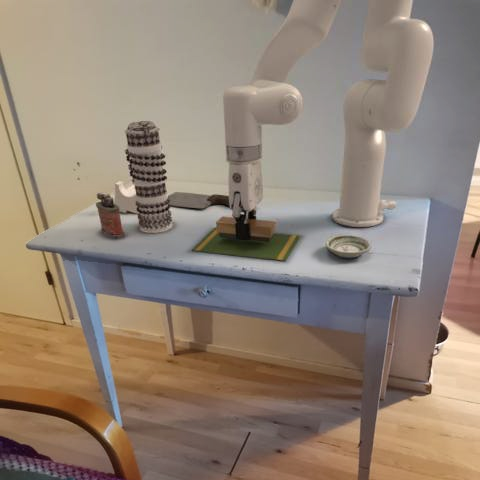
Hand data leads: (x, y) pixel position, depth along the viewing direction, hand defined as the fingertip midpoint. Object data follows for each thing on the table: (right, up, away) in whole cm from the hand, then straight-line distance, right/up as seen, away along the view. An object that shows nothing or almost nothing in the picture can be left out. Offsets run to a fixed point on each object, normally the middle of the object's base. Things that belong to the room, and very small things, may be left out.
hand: (246, 234), depth 104 cm
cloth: (0, -2, +1) cm, 2 cm away
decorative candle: (-23, +4, +13) cm, 27 cm away
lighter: (-33, +2, +10) cm, 35 cm away
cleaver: (-11, +13, +26) cm, 31 cm away
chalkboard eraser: (0, 0, 0) cm, 0 cm away
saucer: (+22, -5, -5) cm, 23 cm away
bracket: (-31, +14, +28) cm, 44 cm away
